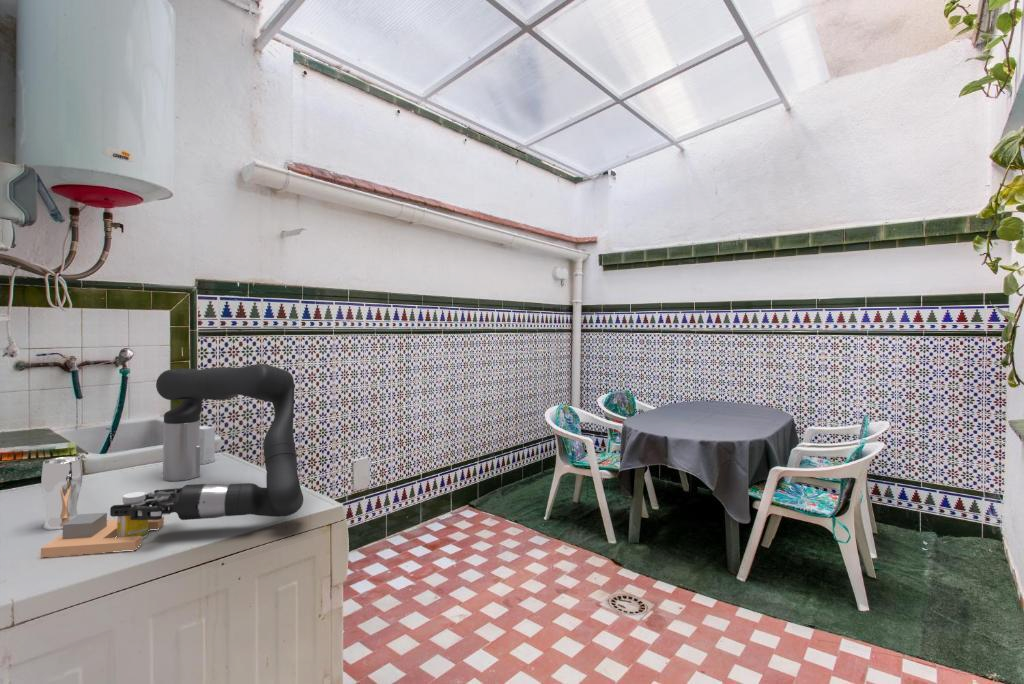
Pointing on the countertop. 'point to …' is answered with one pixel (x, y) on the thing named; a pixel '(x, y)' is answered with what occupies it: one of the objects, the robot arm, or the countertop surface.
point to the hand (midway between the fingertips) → (119, 505)
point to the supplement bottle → (132, 526)
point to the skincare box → (207, 444)
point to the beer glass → (61, 490)
